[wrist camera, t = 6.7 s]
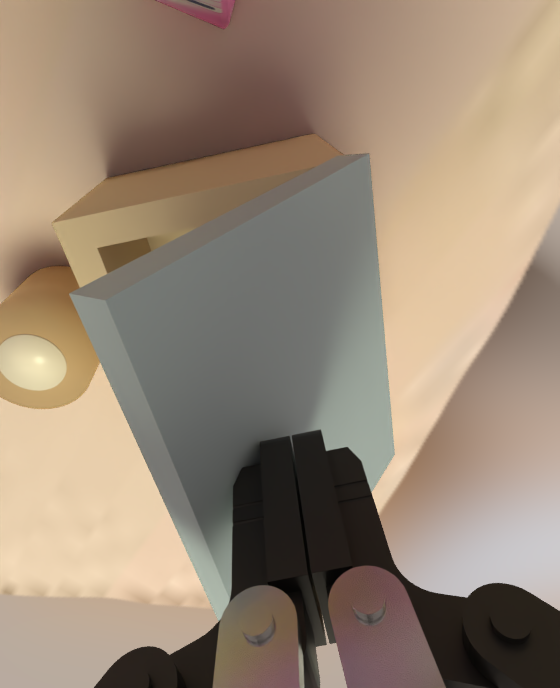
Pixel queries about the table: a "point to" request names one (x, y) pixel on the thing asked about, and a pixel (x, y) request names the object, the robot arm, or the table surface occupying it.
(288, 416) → the lid
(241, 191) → the box
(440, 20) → the table surface
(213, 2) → the gum box
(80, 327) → the tan cylinder cream top
